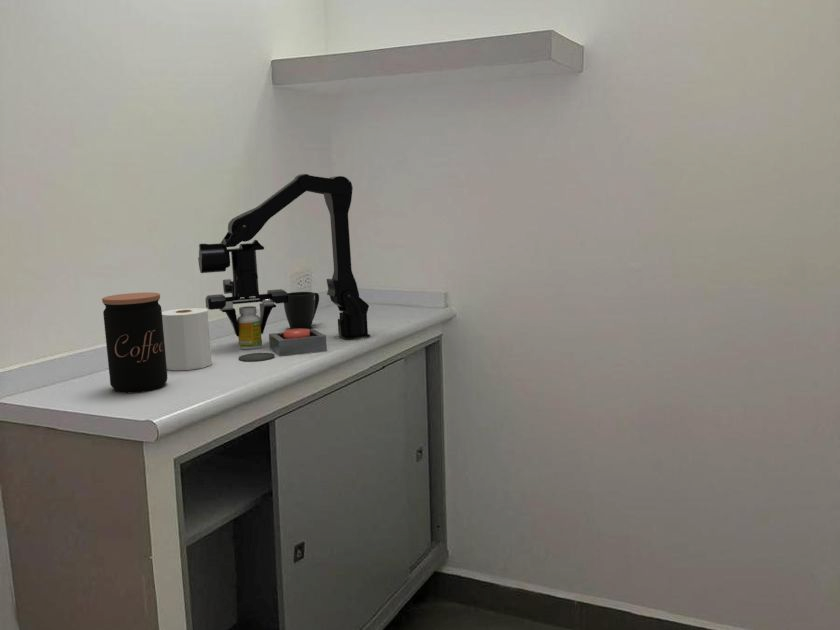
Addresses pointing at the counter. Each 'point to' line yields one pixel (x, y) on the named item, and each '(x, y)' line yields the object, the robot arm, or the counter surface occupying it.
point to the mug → (301, 309)
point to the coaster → (256, 357)
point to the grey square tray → (297, 343)
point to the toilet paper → (186, 338)
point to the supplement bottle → (249, 328)
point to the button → (296, 333)
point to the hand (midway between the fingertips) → (249, 335)
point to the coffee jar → (135, 342)
